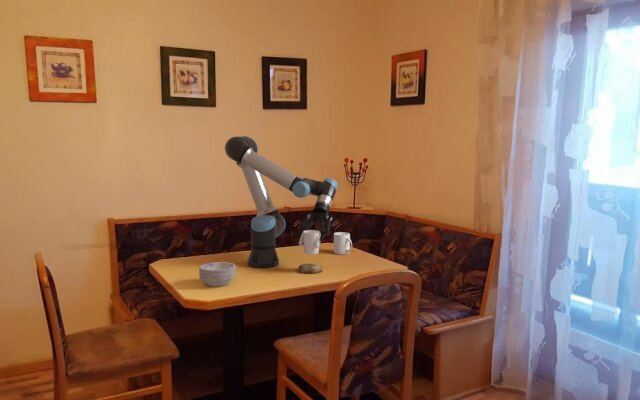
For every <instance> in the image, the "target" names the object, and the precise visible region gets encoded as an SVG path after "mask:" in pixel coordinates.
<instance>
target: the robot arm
mask: <svg viewBox="0 0 640 400" xmlns="http://www.w3.org/2000/svg"><path fill="white" fill-rule="evenodd" d="M258 150H259V147H258V143H257V142H256V140H255V139H254V138H252V137H249V136H246V135H242V136H233V137H232V136H231V137H230V138H229V139H227V141H226V142H225V146H224V151H225V154H226V156H227V157H228V158H229V159H230V160H232V161H234V162H235V163H236V166H237V167H238V168H240V169H241V170H242V173H243V175H244V179H245V181H246V184H247V186H248V189H249V192H250V195H251V197H252V199H253V203H254V205H255V207H256V211H257V213H256V216H254V217H252V219H251V222H250V223H251V224H250V229H251V231H250V235H251V237H250V238H251V248H250V249H251V250H250V252H249V256H248V259H247V266H249V267H250V268H257V269H267V268H274V267H275V268H276V267H277V266H279V265H280V258H279V256H278V253H277V250H276V238H278V237H281V236H282V234H283V233H284V231H285V229H286V220H285V218H284V217H283V216H282V215H281V214H280V211H279V209H278V208H277V207H275V206H274V204H273V200H272V199H271V198H272V197H271V195H270V193H269V190H268V188H267V185H266V182H265V179H264V177H263V176H265V177H266V178H268V179H269V180H271V181H273V182H274V183H276V184H278V185H280V187H281V186H282V187H283V188H285V189H286V190H288V191H290V192H291V193H292V195H294V196H295V198H299V199H300V198H302V199H303V198H306V197H307V196H309V195H311V196H316V197H317V199H316V201H315V204H314V207H313V208H312V209H313V210H312V212H311V213H309V214H308V213H305V214H304V217H303V220H302V221H301V223H300V224H299V227H298V228H297V229H298V232H299V233H300V235H299V237H298V238H299V241H298V245H299V247H303V246H304V241H303V231H306V230H311V227H312V226H313V225H315V224H319V225H320V233H319V235H318V238H317V241H316V244H315V245H316V247H317V248H319V249H320V245H321V242H323V240H324V238H325V236H329V235H330V230H331V225H332V221H333V217H332V215H329V213H330V209H331V206H332V204H333V201H334V198H335V196H336V193H337V190H338V186H339V184H338V181H336V180H335V179H333V178H331V177H329V178H327V177H326V178H325V179H324V180H323V181H322V180H320V181H319V180H316V179H312V178H308V177H302V176H300V177H299V176H297V175H295V174H293V173H292V172H290V171H288V170H287V169H285V168H283V167H282V166H281V165H278V164H277V163H275V162H273V161H271V160H270V159H268V158H267V157H264V156H262V155H260V154H259V153H258ZM325 220H326V223H325Z"/></svg>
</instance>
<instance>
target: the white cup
mask: <svg viewBox="0 0 640 400" xmlns="http://www.w3.org/2000/svg"><path fill="white" fill-rule="evenodd" d="M319 233H321V230H315V229H309V230H306V231H303V241H304V242H303V250H304V251H303V252H304V254H306V255H315V254H316V255H317V254H319V253H320V252H319V251H320V250H319V249H320V247H319V248H317V247H316V245H315V244H316V241H317V238H318V235H319Z"/></svg>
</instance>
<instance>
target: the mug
mask: <svg viewBox="0 0 640 400" xmlns="http://www.w3.org/2000/svg"><path fill="white" fill-rule="evenodd" d="M352 242H353V241H352V240H351V233H349V232H344V231H343V232H341V231H339V232H337V231H336V232H334V233H333V254H334V255H338V254H339V255H340V256H344V255H345V256H346V255H349V254H350V252H351V251H352V249H353V243H352Z"/></svg>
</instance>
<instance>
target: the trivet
mask: <svg viewBox="0 0 640 400" xmlns="http://www.w3.org/2000/svg"><path fill="white" fill-rule="evenodd" d="M298 272H299V273H301V274H304V275H314V274H316V273H317V274H320V273H322V272H323V266H322V265H321V264H318V263H303V264H299V266H298Z"/></svg>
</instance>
